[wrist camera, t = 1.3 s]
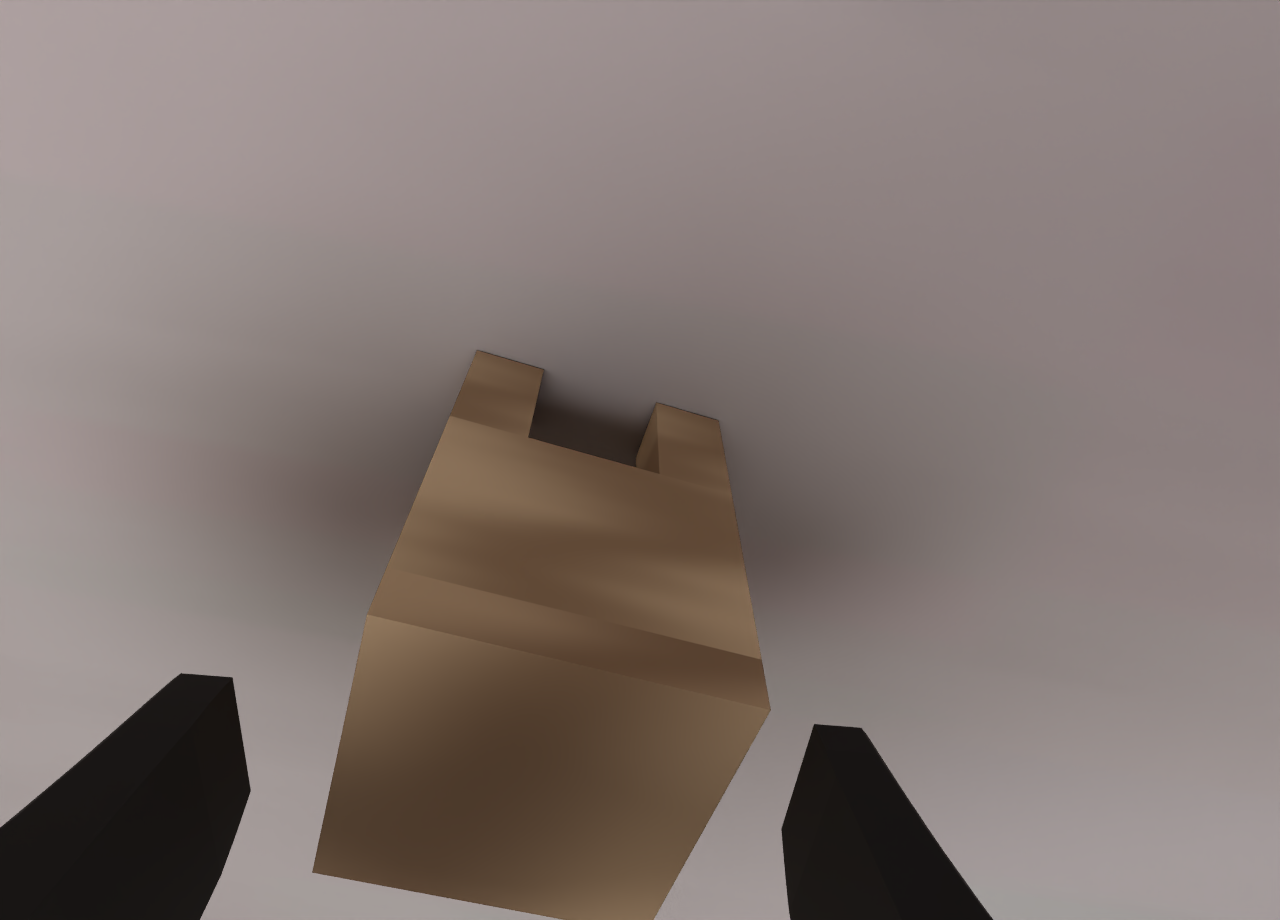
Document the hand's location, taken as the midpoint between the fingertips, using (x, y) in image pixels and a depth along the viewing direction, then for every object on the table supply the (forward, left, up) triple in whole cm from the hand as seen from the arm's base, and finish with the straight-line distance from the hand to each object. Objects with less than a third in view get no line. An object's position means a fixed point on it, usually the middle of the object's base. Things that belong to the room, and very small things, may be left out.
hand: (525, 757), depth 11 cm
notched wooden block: (0, 0, -6) cm, 6 cm away
